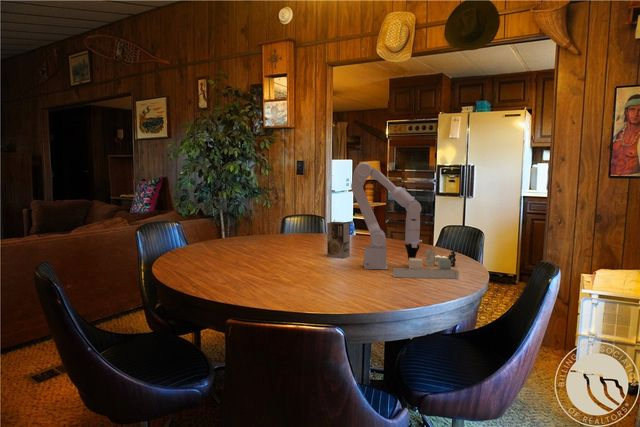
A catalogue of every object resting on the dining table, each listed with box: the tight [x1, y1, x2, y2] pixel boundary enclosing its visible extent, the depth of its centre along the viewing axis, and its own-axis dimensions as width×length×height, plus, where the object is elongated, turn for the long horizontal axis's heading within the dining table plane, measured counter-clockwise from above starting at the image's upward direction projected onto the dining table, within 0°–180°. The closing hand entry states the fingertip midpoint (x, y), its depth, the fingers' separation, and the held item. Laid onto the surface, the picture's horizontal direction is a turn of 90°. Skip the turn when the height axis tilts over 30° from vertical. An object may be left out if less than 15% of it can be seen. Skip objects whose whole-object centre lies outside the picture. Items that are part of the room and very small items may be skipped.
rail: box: [392, 258, 460, 280], centre depth 163 cm, size 24×8×6 cm, turn 86°
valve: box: [425, 249, 457, 267], centre depth 181 cm, size 7×7×12 cm
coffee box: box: [326, 221, 351, 259], centre depth 200 cm, size 9×6×16 cm
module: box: [408, 257, 424, 268], centre depth 164 cm, size 4×7×6 cm
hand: (411, 262), depth 175 cm, fingers closed
